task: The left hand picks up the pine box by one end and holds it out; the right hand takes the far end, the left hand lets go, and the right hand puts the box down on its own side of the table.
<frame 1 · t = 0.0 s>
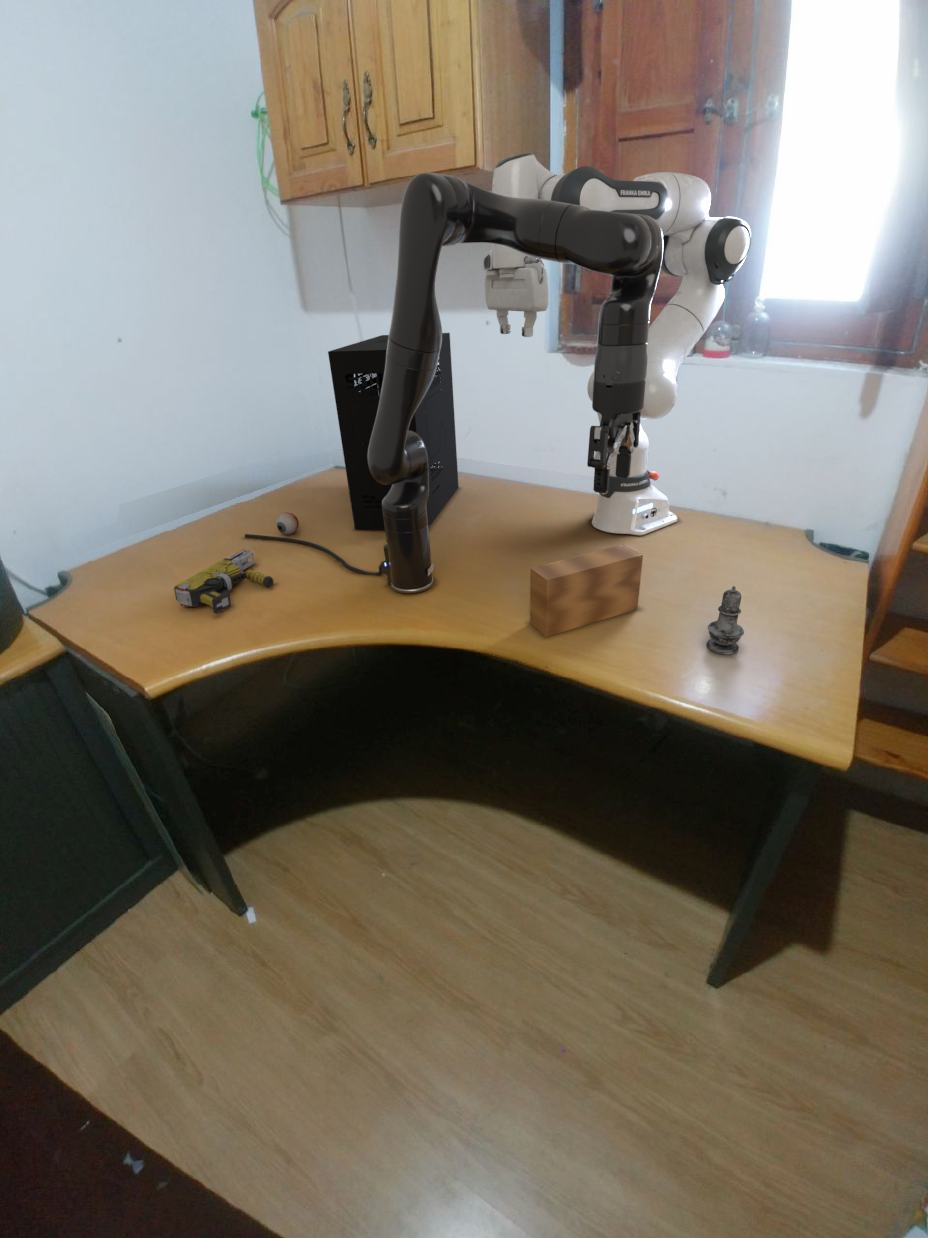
left hand: (611, 484, 97), 29 cm above the table, tool pointing down, fingers open, 8 cm apart
right hand: (516, 335, 125), 48 cm above the table, tool pointing down, fingers open, 8 cm apart
eyeball: (289, 534, 165), on the table
cardboard box: (410, 507, 179), on the table
toy gun: (238, 589, 137), on the table
dark grey chess piece: (722, 647, 107), on the table
box: (584, 616, 119), on the table
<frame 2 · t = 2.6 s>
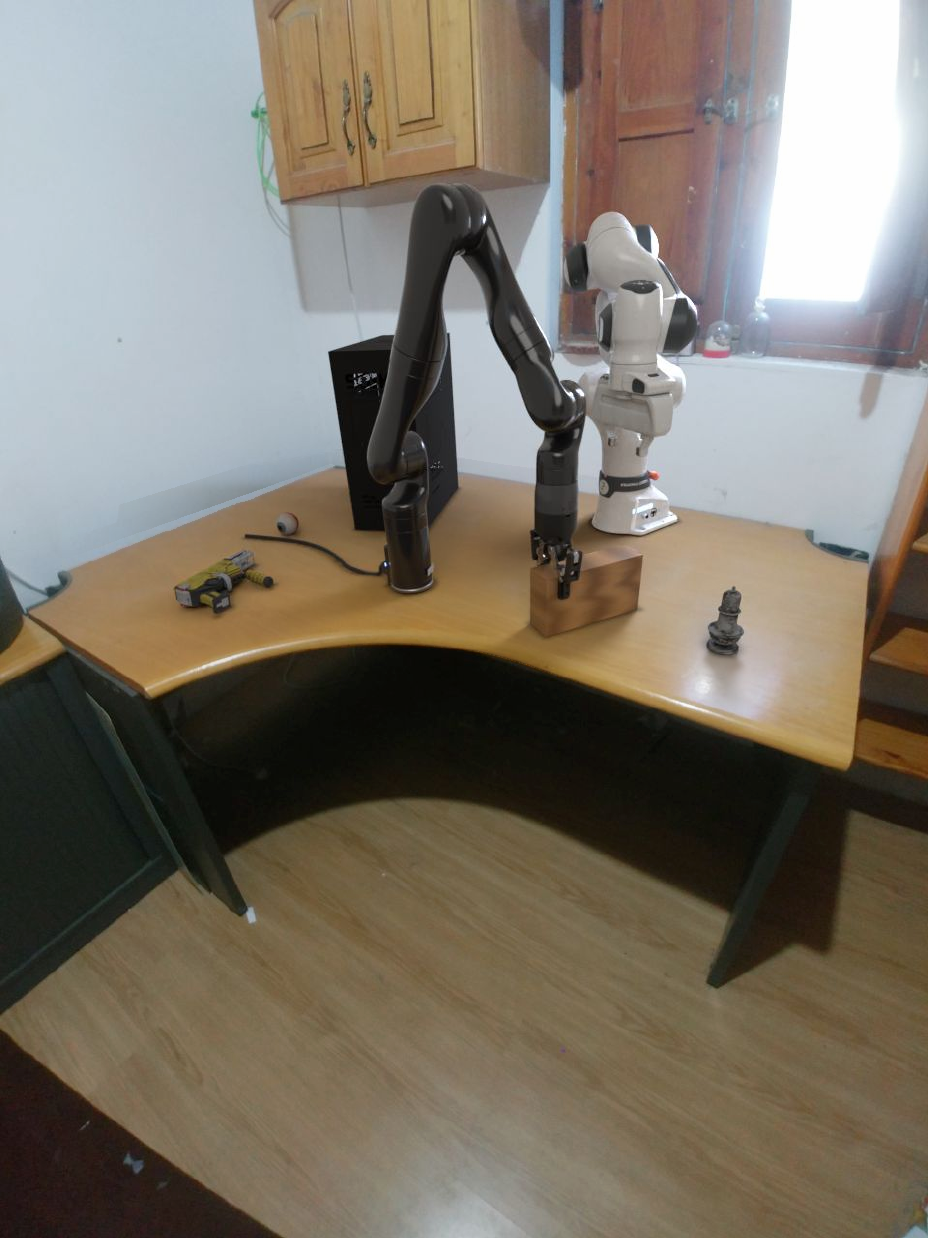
left hand: (553, 591, 113), 8 cm above the table, tool pointing down, fingers closed on box, 6 cm apart
right hand: (626, 450, 122), 27 cm above the table, tool pointing down, fingers open, 8 cm apart
box: (584, 616, 119), on the table, touching left hand
everything else where it was.
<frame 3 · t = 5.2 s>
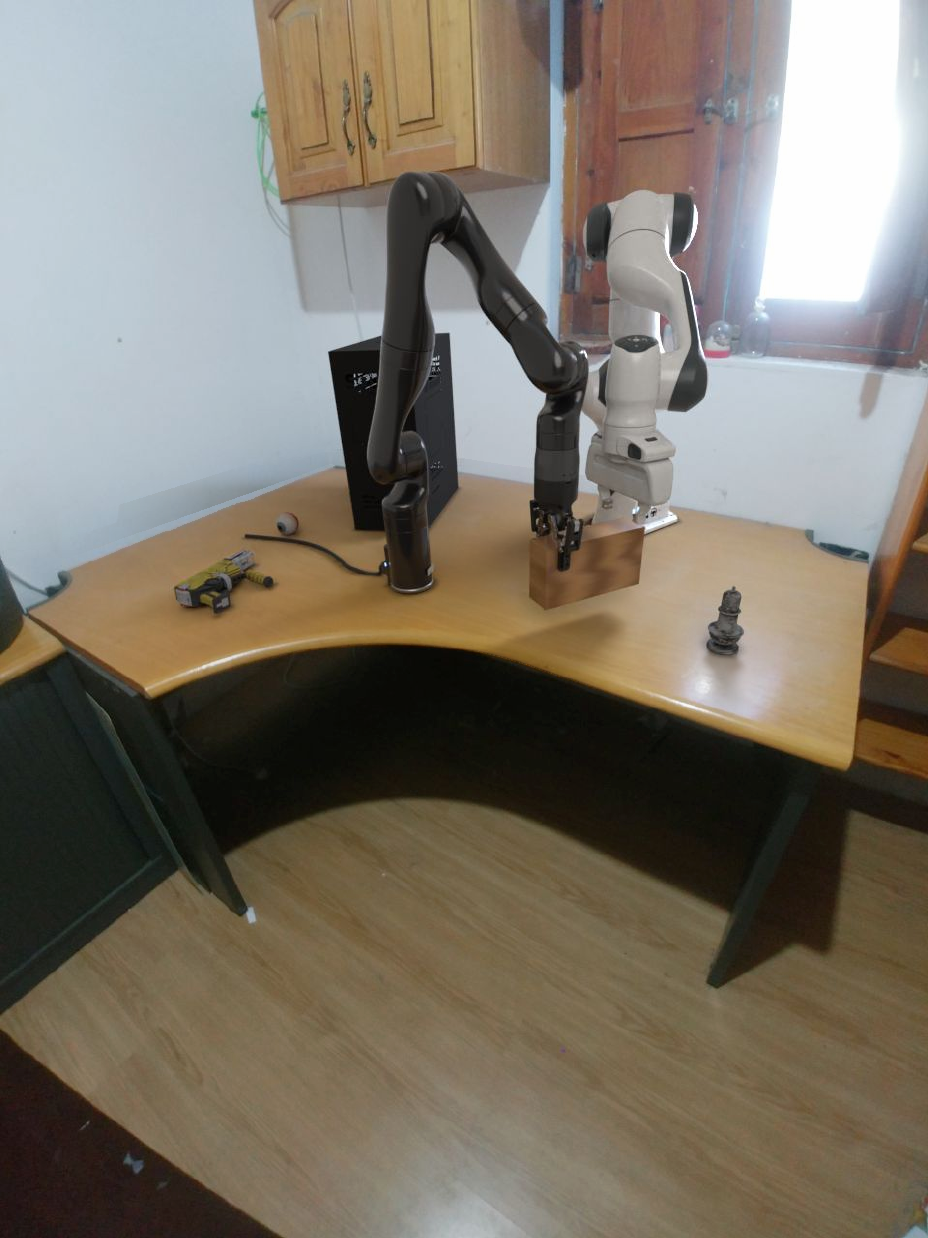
left hand: (553, 563, 110), 13 cm above the table, tool pointing down, fingers closed on box, 6 cm apart
right hand: (622, 515, 111), 19 cm above the table, tool pointing down, fingers open, 8 cm apart
box: (584, 590, 116), point 6 cm above the table, touching left hand
everything else where it was.
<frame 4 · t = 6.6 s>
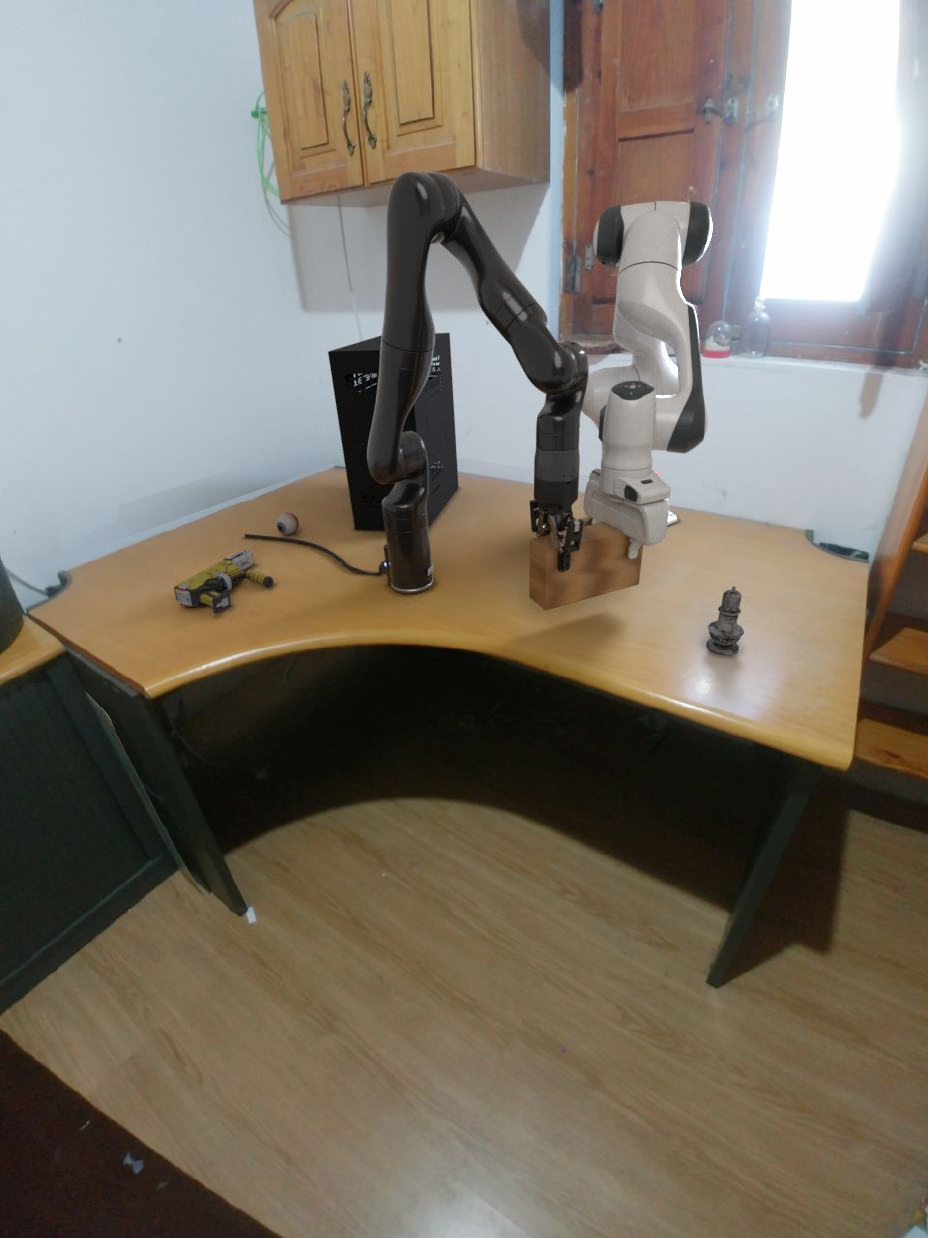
left hand: (553, 563, 110), 13 cm above the table, tool pointing down, fingers closed on box, 6 cm apart
right hand: (618, 550, 115), 12 cm above the table, tool pointing down, fingers closed on box, 6 cm apart
box: (584, 590, 116), point 6 cm above the table, touching right hand, left hand
everything else where it was.
when the left hand's fingers open (13 cm above the table, at t = 7.7 s): box stays where it is, held by the right hand.
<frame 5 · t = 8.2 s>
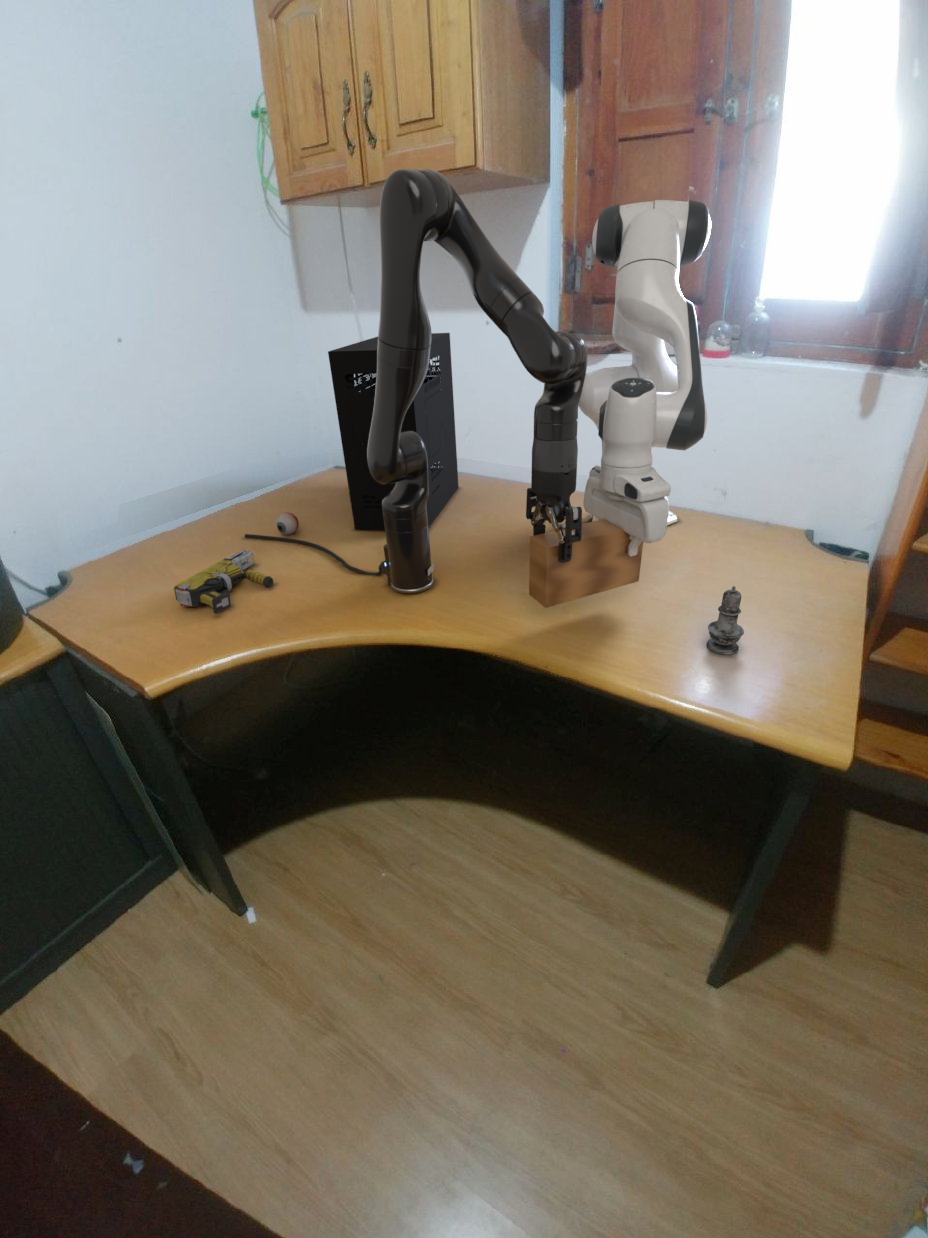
left hand: (551, 552, 109), 15 cm above the table, tool pointing down, fingers open, 8 cm apart
right hand: (618, 547, 115), 13 cm above the table, tool pointing down, fingers closed on box, 6 cm apart
box: (584, 587, 116), point 6 cm above the table, touching right hand
everything else where it was.
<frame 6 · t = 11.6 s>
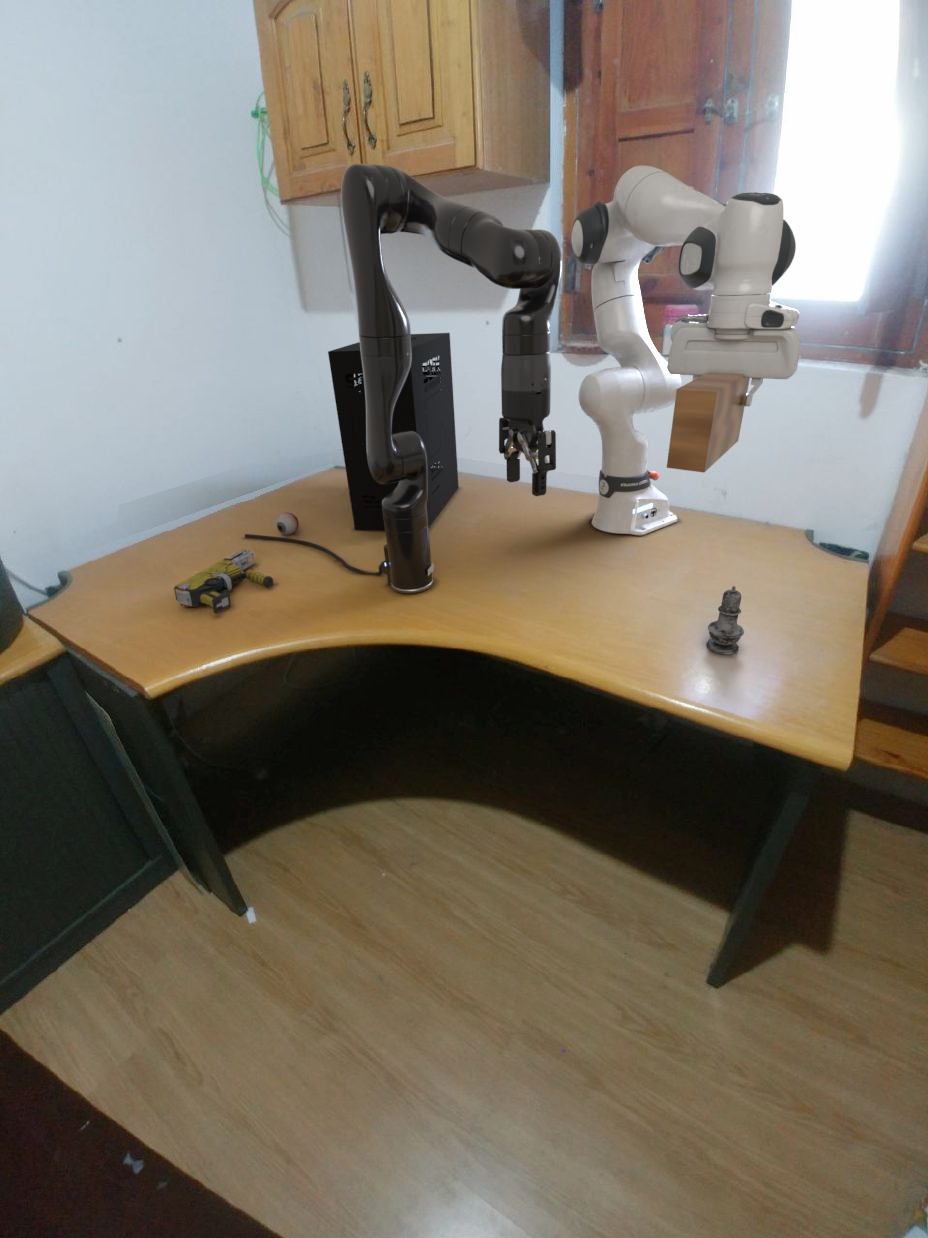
left hand: (525, 487, 100), 28 cm above the table, tool pointing down, fingers open, 8 cm apart
right hand: (723, 404, 104), 38 cm above the table, tool pointing down, fingers closed on box, 6 cm apart
box: (704, 453, 102), point 31 cm above the table, touching right hand
everything else where it was.
when the right hand's fingers open (8 cm above the table, at t = 17.0 s): box stays where it is, on the table.
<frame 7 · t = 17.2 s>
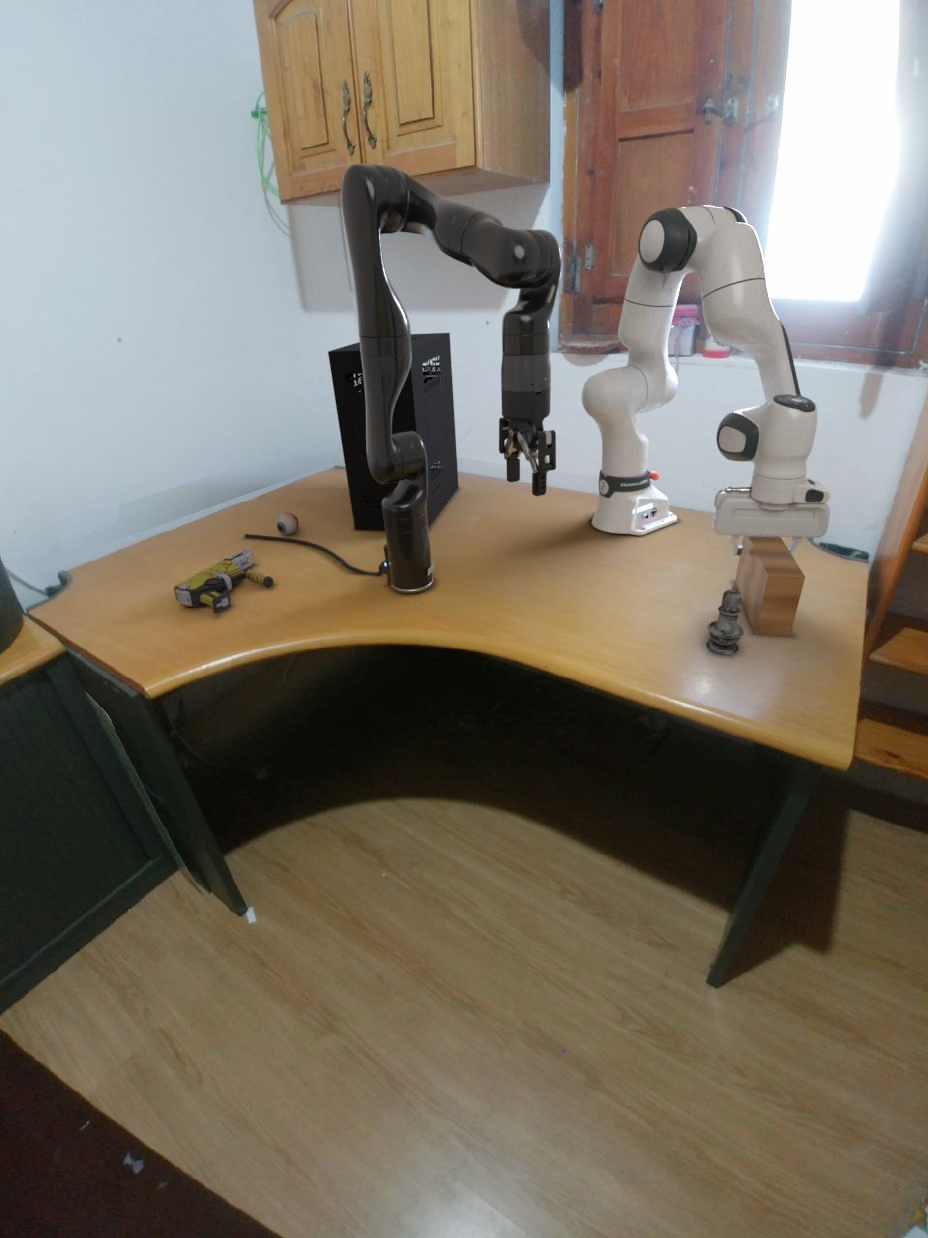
left hand: (525, 487, 100), 28 cm above the table, tool pointing down, fingers open, 8 cm apart
right hand: (761, 555, 120), 8 cm above the table, tool pointing down, fingers open, 8 cm apart
box: (760, 606, 118), on the table
everything else where it was.
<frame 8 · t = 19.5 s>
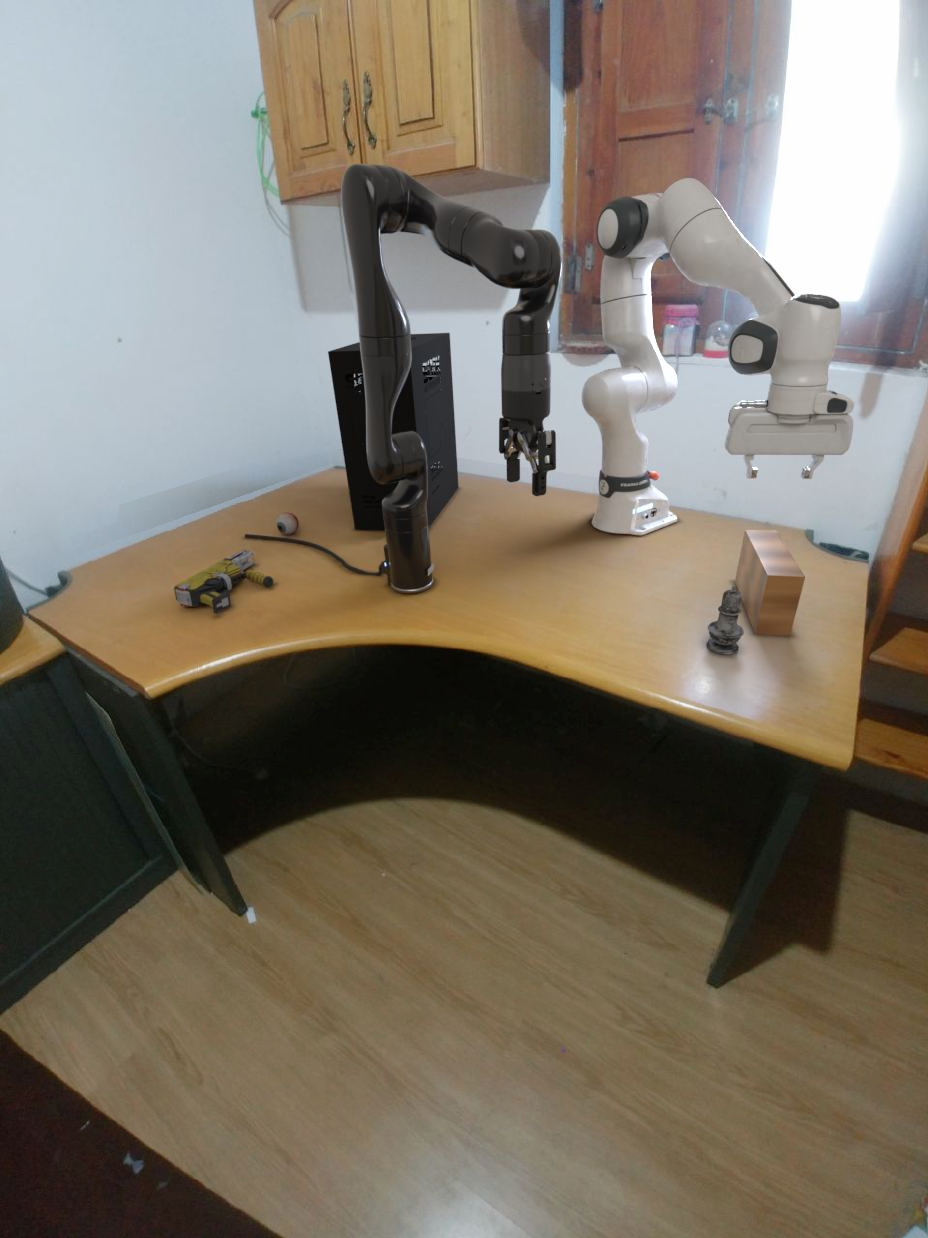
left hand: (525, 487, 100), 28 cm above the table, tool pointing down, fingers open, 8 cm apart
right hand: (778, 477, 112), 24 cm above the table, tool pointing down, fingers open, 8 cm apart
nothing on the table moved.
at the end: box inside the target area (6.6 cm from its centre), on the table; the left hand is holding nothing; the right hand is holding nothing; box at rest at the end (0.0 cm/s) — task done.
